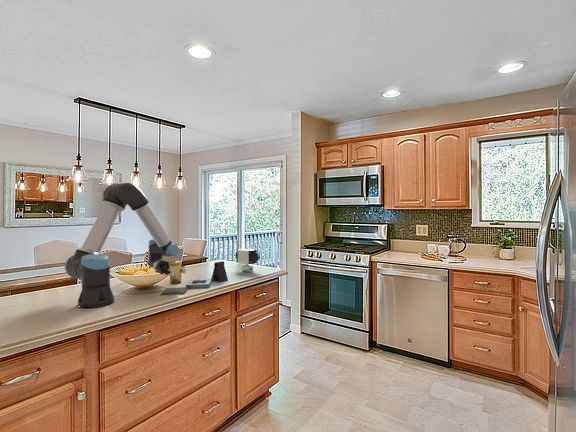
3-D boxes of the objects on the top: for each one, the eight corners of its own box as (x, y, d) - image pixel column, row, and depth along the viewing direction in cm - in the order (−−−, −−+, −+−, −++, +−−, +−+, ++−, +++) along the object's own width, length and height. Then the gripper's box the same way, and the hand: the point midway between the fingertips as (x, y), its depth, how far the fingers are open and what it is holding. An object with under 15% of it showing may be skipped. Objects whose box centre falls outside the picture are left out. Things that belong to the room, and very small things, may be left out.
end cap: (180, 284, 172) (180, 262, 172) (167, 285, 171) (167, 263, 171) (183, 281, 179) (182, 260, 178) (170, 282, 178) (170, 261, 177)
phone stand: (228, 280, 202) (227, 261, 202) (221, 282, 197) (220, 263, 197) (218, 278, 207) (217, 260, 207) (211, 280, 202) (210, 261, 202)
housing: (209, 287, 183) (209, 284, 183) (185, 288, 182) (185, 285, 182) (211, 282, 197) (211, 278, 197) (190, 282, 196) (190, 279, 195)
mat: (184, 294, 169) (184, 292, 169) (161, 295, 168) (161, 293, 168) (188, 288, 181) (188, 287, 181) (166, 289, 180) (166, 288, 180)
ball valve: (260, 272, 228) (260, 247, 228) (251, 273, 222) (251, 248, 222) (243, 269, 240) (243, 245, 240) (235, 270, 234) (234, 246, 233)
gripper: (177, 270, 194) (195, 276, 178) (145, 275, 181) (162, 282, 164) (177, 258, 194) (195, 262, 177) (145, 262, 181) (161, 267, 164)
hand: (179, 272), depth 171 cm, fingers closed on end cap, 6 cm apart
